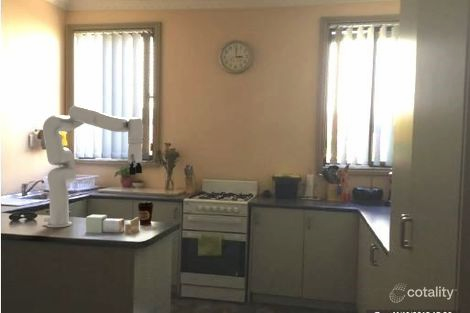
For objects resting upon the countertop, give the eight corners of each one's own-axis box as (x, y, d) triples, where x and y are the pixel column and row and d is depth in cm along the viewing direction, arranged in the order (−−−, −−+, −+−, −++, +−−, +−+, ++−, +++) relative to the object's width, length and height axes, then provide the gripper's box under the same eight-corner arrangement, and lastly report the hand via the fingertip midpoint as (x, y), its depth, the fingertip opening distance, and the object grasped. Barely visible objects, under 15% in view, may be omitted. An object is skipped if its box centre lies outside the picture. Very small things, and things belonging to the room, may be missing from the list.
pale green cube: (86, 232, 214) (86, 217, 214) (92, 229, 221) (92, 214, 221) (101, 232, 213) (101, 217, 213) (107, 229, 220) (106, 214, 220)
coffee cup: (149, 227, 228) (149, 203, 227) (135, 226, 229) (135, 202, 229) (155, 223, 236) (155, 200, 236) (141, 223, 238) (141, 200, 237)
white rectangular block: (89, 231, 215) (89, 219, 215) (93, 229, 220) (93, 218, 220) (121, 232, 213) (121, 220, 213) (124, 230, 218) (124, 218, 218)
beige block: (125, 234, 211) (125, 220, 211) (131, 230, 220) (131, 216, 220) (132, 234, 210) (132, 220, 210) (139, 230, 219) (138, 217, 219)
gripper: (134, 141, 231) (134, 172, 231) (122, 141, 214) (122, 175, 214) (147, 141, 230) (147, 172, 231) (136, 141, 213) (137, 175, 214)
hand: (135, 173), depth 222 cm, fingers open, 9 cm apart
